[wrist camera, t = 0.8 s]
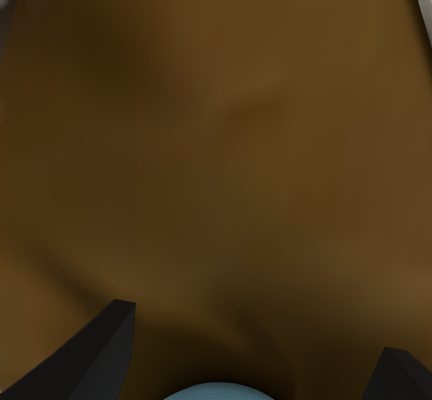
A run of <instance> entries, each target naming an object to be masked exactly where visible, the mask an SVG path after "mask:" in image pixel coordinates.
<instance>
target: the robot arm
mask: <svg viewBox="0 0 432 400" xmlns="http://www.w3.org/2000/svg"><path fill="white" fill-rule="evenodd" d="M135 308H136V303H134V302H128V301H123V300H117V299H115V300H113V301H111V302H110V303H109V304H108V305H107V306H106V307H105V308H104V309H103V310H102V311H101V312H100V313H99V314H97V315H96V316H95V317H94V318H93V319H92V320H91V321H90V322H89V323H88V324H87V325H85V326H84V327H83V328H82V329H81V330H80V331H79V332H78V333H76V334H75V335H74V336H73V337H72V338H70V339H69V340H68V341H67V342H66V343H65V344H63V345H62V346H61V347H60V348H59V349H58V350H56V351H55V352H54V353H53V354H51V355H50V356H49V357H48V358H46V359H45V360H44V361H43V362H41V363H40V364H39V365H37V366H36V367H35V368H34V369H32V370H31V371H30V372H28V373H27V374H26V375H25V376H23V377H22V378H21V379H19V380H18V381H17V382H15V383H14V384H13V385H11V386H10V387H8V388H7V389H6V390H4V391H3V392H2V393H0V400H117V398H118V395H119V393H120V390H121V387H122V384H123V381H124V378H125V375H126V372H127V369H128V366H129V362H130V359H131V355H132V343H133V332H134V320H135ZM362 400H432V373H431V372H430V371H428V370H427V369H426V368H425V367H424V366H423V365H422V364H421V363H420V362H419V361H418V360H417V359H415V358H414V357H413V356H412V355H411V354H410V353H409V352H407V351H405V350H400V349H394V348H389V347H385V348H384V350H383V353H382V355H381V357H380V359H379V361H378V364H377V366H376V368H375V370H374V372H373V375H372V377H371V379H370V381H369V383H368V386H367V388H366V390H365V392H364V395H363V397H362Z"/></svg>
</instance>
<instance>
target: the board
mask: <svg viewBox="0 0 432 400" xmlns="http://www.w3.org/2000/svg"><path fill="white" fill-rule="evenodd" d="M418 2H419V6H420V9H421V12H422V16H423V19H424V22H425V26H426V29H427V32H428V36H429V39H430V42H431V46H432V0H418Z"/></svg>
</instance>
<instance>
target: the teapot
mask: <svg viewBox="0 0 432 400" xmlns="http://www.w3.org/2000/svg"><path fill="white" fill-rule="evenodd" d="M164 400H274V399H273V398H271V397H269V396H268V395H266V394H264V393H262V392H260V391H258V390H256V389H253V388H250V387H247V386H244V385H240V384H235V383H227V382H212V383H204V384H199V385H195V386H192V387H189V388H186V389H183V390H181V391H179V392H177V393H175V394H173V395H171V396H169V397H167V398H165V399H164Z"/></svg>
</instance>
